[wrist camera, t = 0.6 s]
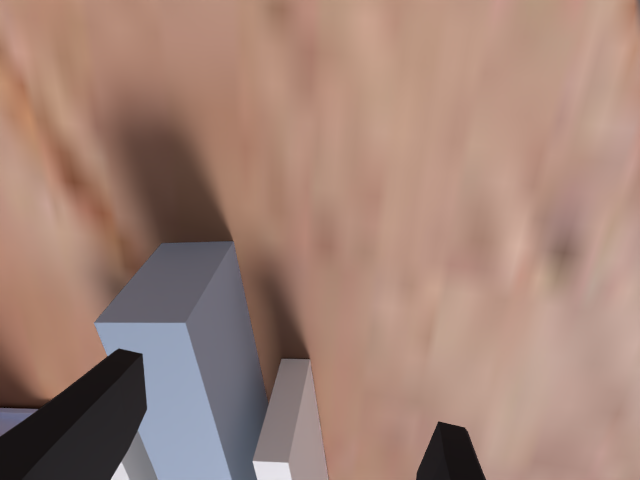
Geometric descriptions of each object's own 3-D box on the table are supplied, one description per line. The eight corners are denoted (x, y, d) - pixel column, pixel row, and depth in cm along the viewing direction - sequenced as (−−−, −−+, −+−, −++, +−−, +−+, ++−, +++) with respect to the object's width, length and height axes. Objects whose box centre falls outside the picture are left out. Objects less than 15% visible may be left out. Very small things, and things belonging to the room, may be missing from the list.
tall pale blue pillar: (215, 420, 28) (175, 521, 23) (162, 241, 22) (93, 322, 17) (273, 422, 28) (245, 526, 22) (234, 239, 22) (185, 322, 17)
